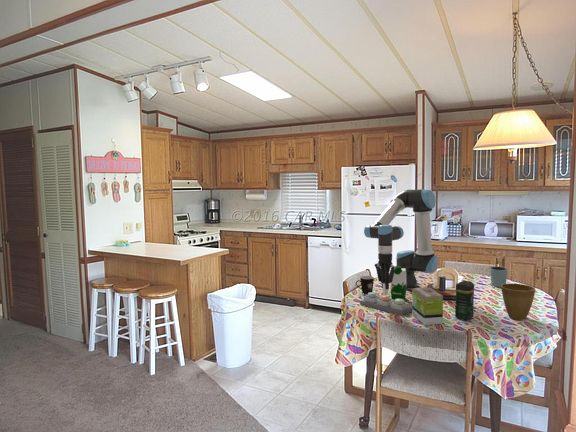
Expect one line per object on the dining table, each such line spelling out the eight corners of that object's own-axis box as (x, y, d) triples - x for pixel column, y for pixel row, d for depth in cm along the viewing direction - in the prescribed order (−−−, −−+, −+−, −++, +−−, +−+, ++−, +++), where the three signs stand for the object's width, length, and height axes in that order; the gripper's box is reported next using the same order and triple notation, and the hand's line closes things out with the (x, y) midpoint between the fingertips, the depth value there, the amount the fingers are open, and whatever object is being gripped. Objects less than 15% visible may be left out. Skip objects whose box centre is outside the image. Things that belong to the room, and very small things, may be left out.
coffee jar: (469, 321, 196) (469, 285, 194) (453, 318, 201) (453, 282, 200) (475, 316, 203) (476, 281, 201) (460, 313, 208) (460, 278, 207)
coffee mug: (373, 290, 254) (373, 275, 253) (374, 294, 245) (374, 279, 244) (355, 290, 255) (354, 275, 254) (355, 294, 246) (355, 279, 246)
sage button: (405, 304, 213) (405, 299, 213) (400, 306, 210) (400, 301, 210) (398, 302, 217) (398, 298, 217) (393, 304, 214) (393, 300, 214)
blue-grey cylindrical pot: (507, 285, 259) (508, 267, 258) (506, 289, 250) (507, 270, 249) (490, 283, 264) (490, 265, 263) (488, 287, 256) (489, 268, 255)
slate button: (378, 297, 227) (378, 293, 227) (373, 299, 224) (373, 295, 223) (371, 296, 230) (371, 291, 230) (366, 297, 227) (366, 293, 227)
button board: (412, 311, 213) (412, 302, 213) (402, 315, 207) (402, 307, 206) (370, 300, 234) (370, 292, 234) (359, 304, 228) (359, 296, 227)
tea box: (411, 315, 207) (411, 287, 206) (430, 314, 208) (430, 286, 207) (423, 325, 192) (423, 295, 191) (443, 324, 193) (443, 294, 192)
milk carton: (389, 300, 233) (389, 267, 232) (392, 296, 242) (392, 263, 240) (405, 301, 230) (405, 268, 228) (407, 297, 238) (407, 264, 236)
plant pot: (540, 318, 197) (541, 287, 196) (524, 325, 189) (525, 292, 188) (509, 311, 210) (510, 281, 208) (494, 316, 202) (495, 286, 200)
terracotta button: (391, 300, 220) (391, 296, 220) (386, 302, 217) (386, 298, 217) (384, 299, 224) (384, 294, 223) (379, 301, 221) (379, 296, 220)
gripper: (371, 252, 220) (371, 293, 222) (391, 255, 211) (391, 298, 213) (379, 250, 225) (379, 291, 227) (399, 253, 216) (399, 295, 217)
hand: (385, 294), depth 220 cm, fingers closed
